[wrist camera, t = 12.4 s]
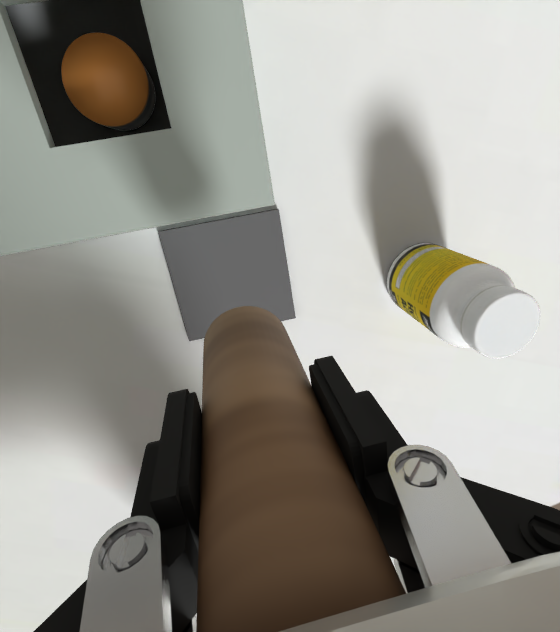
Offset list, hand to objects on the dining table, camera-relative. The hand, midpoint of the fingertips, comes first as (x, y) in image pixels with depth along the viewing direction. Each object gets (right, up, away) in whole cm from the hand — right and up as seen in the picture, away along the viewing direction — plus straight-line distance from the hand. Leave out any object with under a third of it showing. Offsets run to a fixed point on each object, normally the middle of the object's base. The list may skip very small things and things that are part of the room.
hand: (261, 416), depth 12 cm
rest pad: (-3, +6, +15) cm, 17 cm away
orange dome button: (-9, +16, +10) cm, 21 cm away
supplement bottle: (+11, +6, +18) cm, 22 cm away
